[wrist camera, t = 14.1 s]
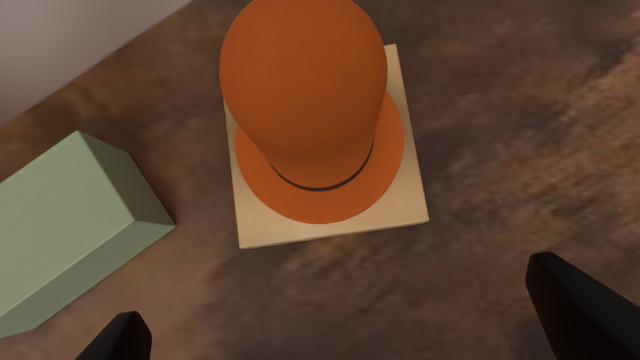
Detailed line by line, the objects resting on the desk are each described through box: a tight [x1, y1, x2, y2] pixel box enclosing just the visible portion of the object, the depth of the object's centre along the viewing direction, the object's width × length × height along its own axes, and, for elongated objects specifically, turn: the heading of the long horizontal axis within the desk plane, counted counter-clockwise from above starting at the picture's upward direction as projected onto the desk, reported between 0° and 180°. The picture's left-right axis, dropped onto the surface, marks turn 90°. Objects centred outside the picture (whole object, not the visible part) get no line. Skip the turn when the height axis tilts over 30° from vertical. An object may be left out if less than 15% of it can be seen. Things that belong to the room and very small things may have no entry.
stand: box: [223, 44, 429, 249], centre depth 21 cm, size 9×9×2 cm
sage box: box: [0, 130, 176, 338], centre depth 20 cm, size 5×9×4 cm, turn 126°
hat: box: [219, 0, 404, 224], centre depth 15 cm, size 8×8×10 cm
